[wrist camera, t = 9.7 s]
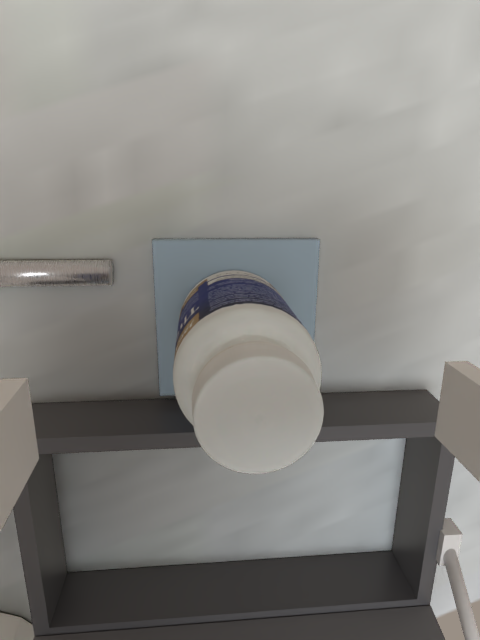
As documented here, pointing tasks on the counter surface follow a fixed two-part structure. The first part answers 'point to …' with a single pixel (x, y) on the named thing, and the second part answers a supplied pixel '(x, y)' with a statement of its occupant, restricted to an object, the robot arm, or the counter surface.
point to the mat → (225, 255)
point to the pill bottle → (247, 374)
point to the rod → (56, 273)
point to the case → (254, 575)
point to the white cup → (15, 628)
